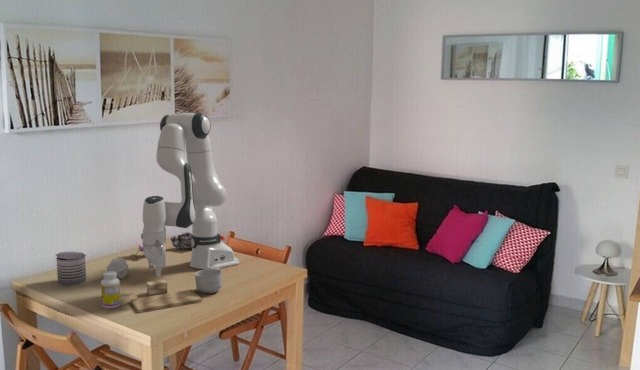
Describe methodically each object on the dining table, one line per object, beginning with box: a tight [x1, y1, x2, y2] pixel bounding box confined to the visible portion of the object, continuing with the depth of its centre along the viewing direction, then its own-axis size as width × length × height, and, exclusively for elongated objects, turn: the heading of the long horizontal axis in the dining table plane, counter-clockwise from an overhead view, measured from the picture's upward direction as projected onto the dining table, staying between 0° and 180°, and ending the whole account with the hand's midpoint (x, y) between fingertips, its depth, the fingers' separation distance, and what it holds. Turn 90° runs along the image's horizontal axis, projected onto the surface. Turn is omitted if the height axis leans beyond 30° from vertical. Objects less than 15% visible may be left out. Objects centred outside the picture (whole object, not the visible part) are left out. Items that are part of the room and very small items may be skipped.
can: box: [55, 250, 87, 287], centre depth 262 cm, size 11×11×12 cm
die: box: [106, 258, 130, 279], centre depth 269 cm, size 8×9×10 cm
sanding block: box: [146, 279, 168, 296], centre depth 251 cm, size 7×4×4 cm, turn 119°
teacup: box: [194, 268, 223, 294], centre depth 255 cm, size 14×11×8 cm
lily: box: [133, 239, 144, 258], centre depth 300 cm, size 11×11×9 cm
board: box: [129, 289, 203, 314], centre depth 241 cm, size 24×12×1 cm, turn 120°
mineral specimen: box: [169, 231, 193, 250], centre depth 313 cm, size 13×10×11 cm
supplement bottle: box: [100, 271, 122, 309], centre depth 235 cm, size 7×7×13 cm
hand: (154, 272), depth 249 cm, fingers open, 8 cm apart
